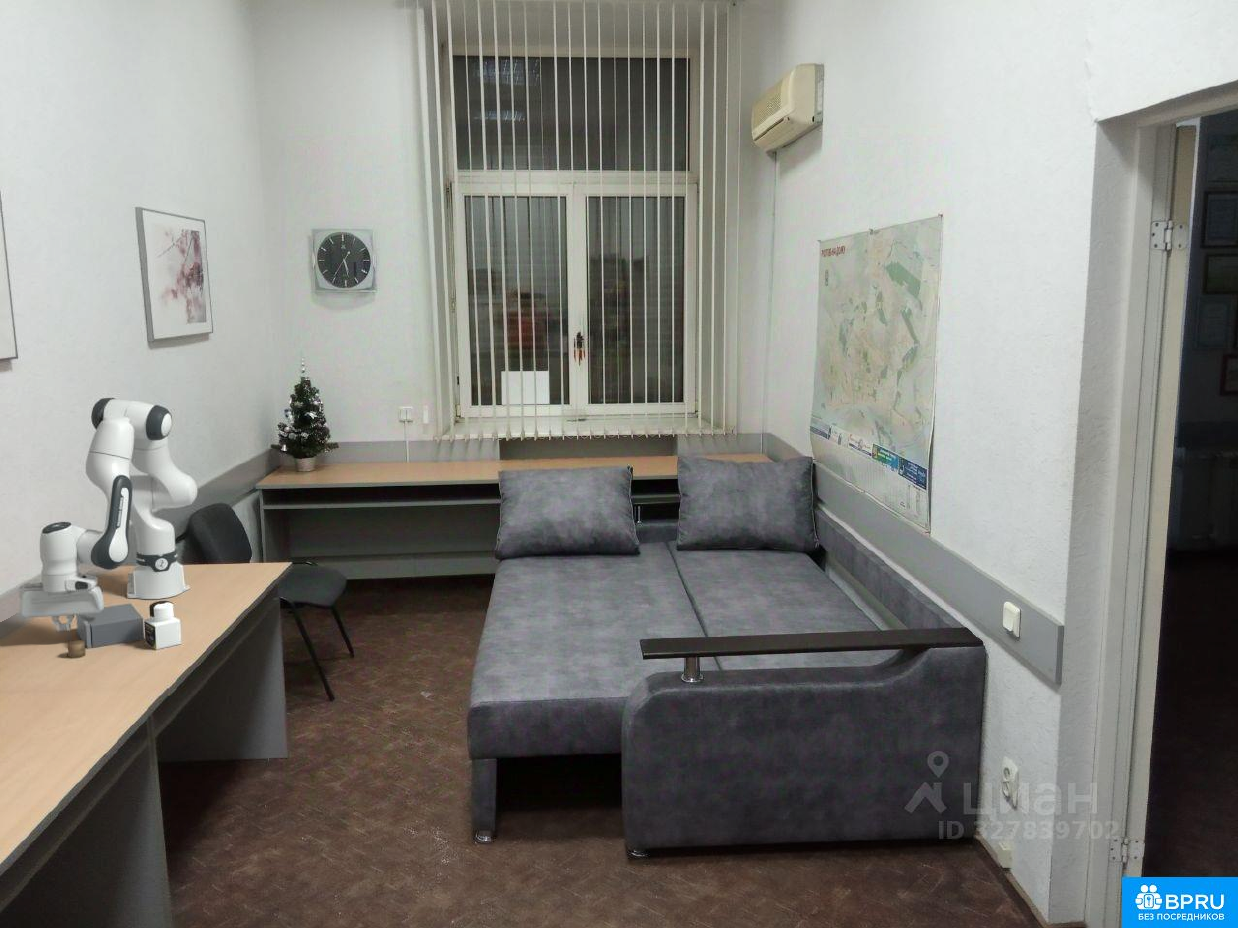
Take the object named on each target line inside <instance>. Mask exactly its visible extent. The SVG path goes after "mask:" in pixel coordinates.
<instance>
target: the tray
mask: <svg viewBox="0 0 1238 928" xmlns="http://www.w3.org/2000/svg"><path fill="white" fill-rule="evenodd" d="M75 616H76V618H75V619H76V630H77V631H76V632H77V634H78V635H79V637H80V639H81V641H84V642H85V648H87V649H91V648H92V649H93V647H92V636H91V632H90V624H89V623H88V621H87V620H86V618H85V617H84V615H75Z"/></svg>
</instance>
